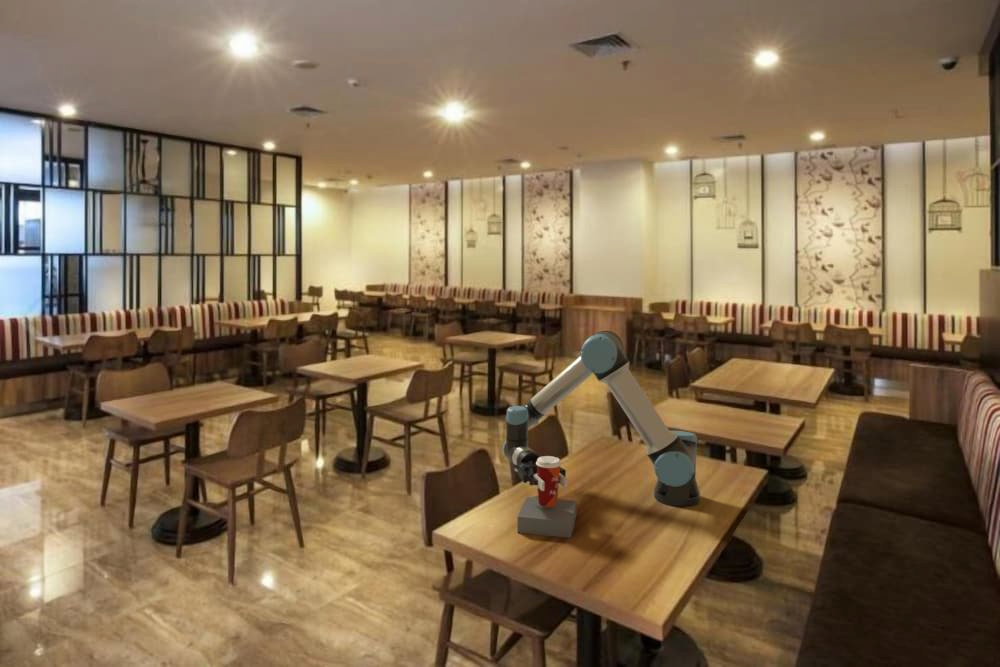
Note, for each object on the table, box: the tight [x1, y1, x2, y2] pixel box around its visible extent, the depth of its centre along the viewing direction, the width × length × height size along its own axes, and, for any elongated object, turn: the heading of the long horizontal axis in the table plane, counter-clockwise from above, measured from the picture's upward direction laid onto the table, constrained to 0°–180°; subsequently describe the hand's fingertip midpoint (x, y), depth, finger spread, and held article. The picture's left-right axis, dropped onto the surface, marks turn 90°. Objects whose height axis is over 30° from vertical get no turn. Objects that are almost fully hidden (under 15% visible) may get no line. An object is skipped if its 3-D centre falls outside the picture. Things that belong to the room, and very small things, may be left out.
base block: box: [517, 496, 578, 539], centre depth 194 cm, size 16×16×5 cm
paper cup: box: [536, 455, 562, 507], centre depth 193 cm, size 8×8×14 cm
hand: (554, 485), depth 188 cm, fingers closed on paper cup, 7 cm apart
